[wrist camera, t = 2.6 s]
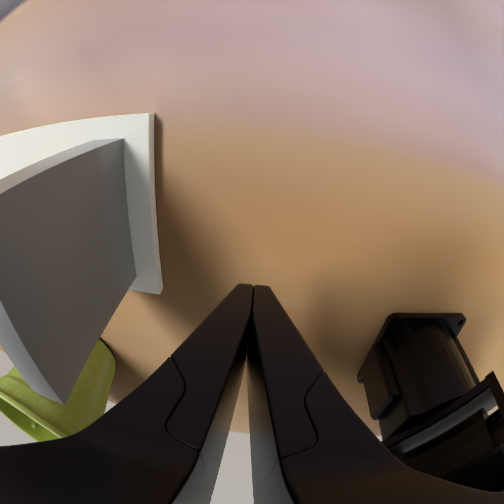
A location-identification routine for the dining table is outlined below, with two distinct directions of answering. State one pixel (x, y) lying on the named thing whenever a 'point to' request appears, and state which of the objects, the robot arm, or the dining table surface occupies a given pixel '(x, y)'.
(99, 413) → the plant pot
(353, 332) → the dining table surface
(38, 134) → the white rectangular board
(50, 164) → the slate tile
